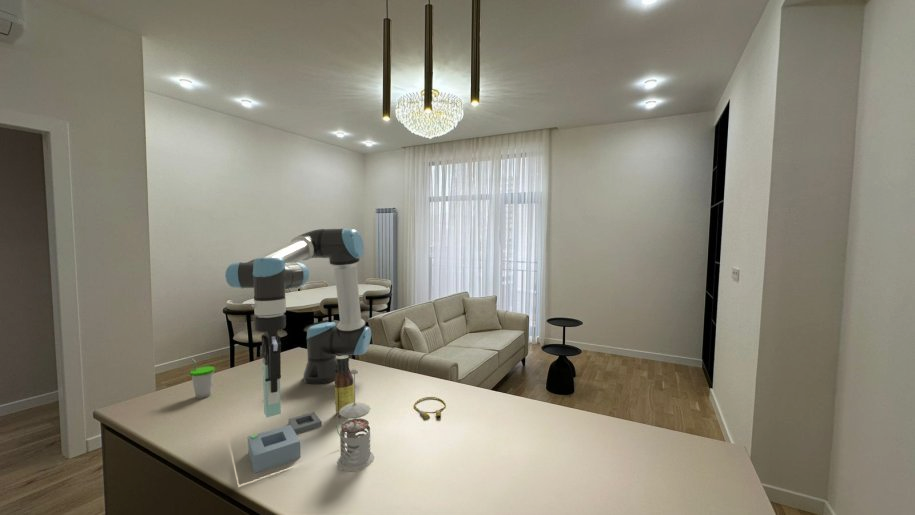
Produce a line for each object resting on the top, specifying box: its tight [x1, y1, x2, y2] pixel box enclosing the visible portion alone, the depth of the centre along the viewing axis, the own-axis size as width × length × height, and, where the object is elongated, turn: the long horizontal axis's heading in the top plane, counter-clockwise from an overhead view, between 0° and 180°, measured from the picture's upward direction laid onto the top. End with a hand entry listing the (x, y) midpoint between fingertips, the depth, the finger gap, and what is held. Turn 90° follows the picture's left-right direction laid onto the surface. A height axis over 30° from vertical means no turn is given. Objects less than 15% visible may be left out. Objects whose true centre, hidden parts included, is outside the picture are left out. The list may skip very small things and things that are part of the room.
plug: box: [262, 355, 282, 418], centre depth 98 cm, size 4×4×16 cm
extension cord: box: [413, 396, 446, 420], centre depth 127 cm, size 12×16×2 cm
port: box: [247, 424, 301, 474], centre depth 99 cm, size 11×11×5 cm
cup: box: [189, 357, 216, 400], centre depth 137 cm, size 8×8×15 cm
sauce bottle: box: [334, 354, 354, 418], centre depth 122 cm, size 7×6×20 cm
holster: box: [287, 411, 322, 435], centre depth 115 cm, size 8×8×2 cm
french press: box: [335, 368, 375, 472], centre depth 97 cm, size 10×12×25 cm
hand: (272, 400), depth 98 cm, fingers closed on plug, 3 cm apart
